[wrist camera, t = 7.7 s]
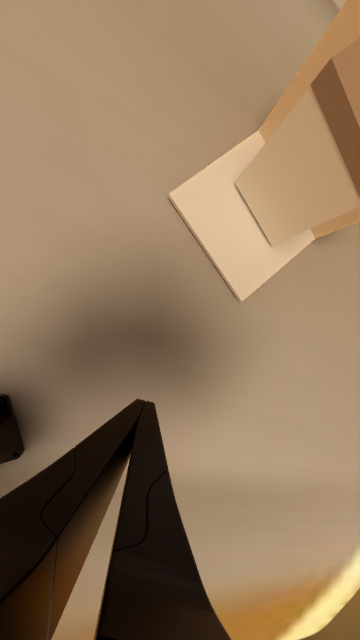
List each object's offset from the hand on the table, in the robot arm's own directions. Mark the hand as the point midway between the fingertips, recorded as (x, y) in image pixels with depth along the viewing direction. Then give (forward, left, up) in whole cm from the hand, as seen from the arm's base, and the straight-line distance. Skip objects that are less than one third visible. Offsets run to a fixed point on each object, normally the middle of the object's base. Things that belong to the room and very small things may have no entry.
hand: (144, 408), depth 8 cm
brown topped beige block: (+17, +14, -11) cm, 24 cm away
